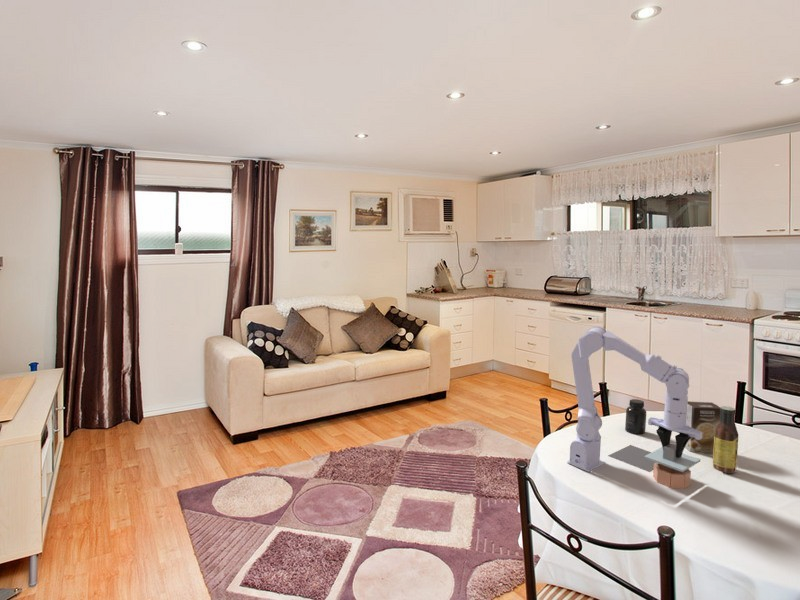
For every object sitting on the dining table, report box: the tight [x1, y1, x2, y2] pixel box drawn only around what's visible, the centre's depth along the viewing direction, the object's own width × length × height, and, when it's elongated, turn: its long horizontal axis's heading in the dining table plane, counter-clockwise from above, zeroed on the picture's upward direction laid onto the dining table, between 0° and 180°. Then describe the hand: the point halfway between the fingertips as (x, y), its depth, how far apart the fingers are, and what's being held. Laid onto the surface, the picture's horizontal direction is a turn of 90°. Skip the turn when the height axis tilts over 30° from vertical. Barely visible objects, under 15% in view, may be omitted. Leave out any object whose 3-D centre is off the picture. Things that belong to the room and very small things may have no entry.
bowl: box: [652, 463, 692, 489], centre depth 148 cm, size 9×9×4 cm
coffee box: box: [684, 401, 721, 455], centre depth 168 cm, size 9×6×16 cm
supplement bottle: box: [624, 398, 647, 436], centre depth 184 cm, size 7×7×12 cm
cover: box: [644, 442, 701, 472], centre depth 147 cm, size 11×11×4 cm
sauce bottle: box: [712, 405, 739, 474], centre depth 154 cm, size 6×6×20 cm
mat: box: [607, 444, 656, 473], centre depth 163 cm, size 14×14×1 cm
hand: (672, 454), depth 147 cm, fingers closed on cover, 3 cm apart
